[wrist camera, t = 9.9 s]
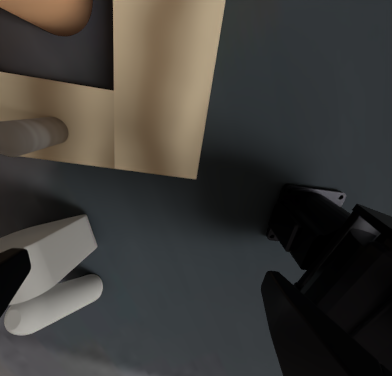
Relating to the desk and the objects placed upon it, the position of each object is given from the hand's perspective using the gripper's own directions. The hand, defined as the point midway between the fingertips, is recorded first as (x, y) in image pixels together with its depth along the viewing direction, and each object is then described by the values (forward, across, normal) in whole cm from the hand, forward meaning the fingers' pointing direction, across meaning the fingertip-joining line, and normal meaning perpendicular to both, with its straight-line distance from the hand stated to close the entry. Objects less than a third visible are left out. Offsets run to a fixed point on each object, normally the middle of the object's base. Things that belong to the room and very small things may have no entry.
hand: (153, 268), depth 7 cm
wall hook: (+12, +10, +11) cm, 19 cm away
